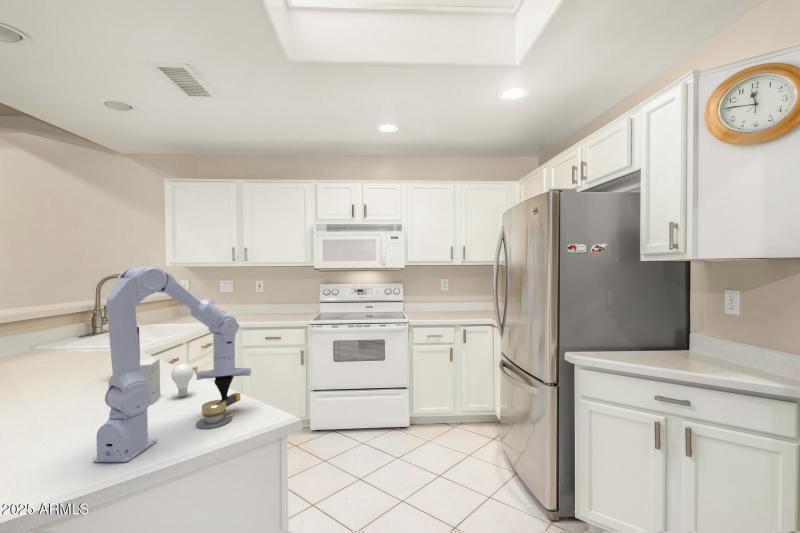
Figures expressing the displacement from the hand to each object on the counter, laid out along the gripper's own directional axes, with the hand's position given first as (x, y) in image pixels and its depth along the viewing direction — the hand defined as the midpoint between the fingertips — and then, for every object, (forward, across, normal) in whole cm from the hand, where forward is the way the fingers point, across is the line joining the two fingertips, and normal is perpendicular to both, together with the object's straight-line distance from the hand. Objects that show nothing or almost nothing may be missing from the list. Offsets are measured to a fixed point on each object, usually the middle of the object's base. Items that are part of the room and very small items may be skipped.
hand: (224, 401), depth 104 cm
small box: (+4, +28, -17) cm, 33 cm away
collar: (+1, 0, +3) cm, 3 cm away
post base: (+3, +1, +6) cm, 7 cm away
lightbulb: (+4, +18, -18) cm, 25 cm away
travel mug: (+4, +47, -47) cm, 66 cm away
